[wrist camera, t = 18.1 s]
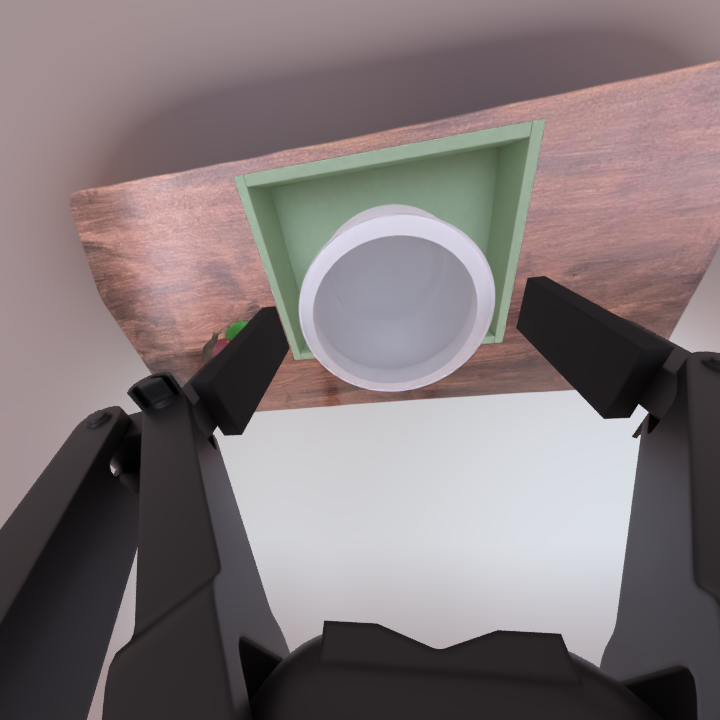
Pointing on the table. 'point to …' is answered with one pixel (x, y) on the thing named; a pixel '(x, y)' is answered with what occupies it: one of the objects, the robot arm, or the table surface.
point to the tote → (396, 186)
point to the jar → (396, 299)
